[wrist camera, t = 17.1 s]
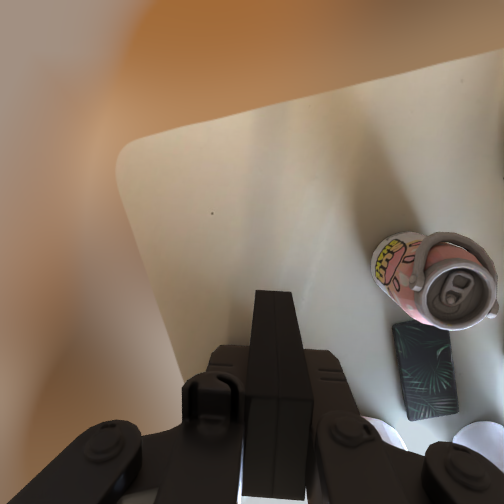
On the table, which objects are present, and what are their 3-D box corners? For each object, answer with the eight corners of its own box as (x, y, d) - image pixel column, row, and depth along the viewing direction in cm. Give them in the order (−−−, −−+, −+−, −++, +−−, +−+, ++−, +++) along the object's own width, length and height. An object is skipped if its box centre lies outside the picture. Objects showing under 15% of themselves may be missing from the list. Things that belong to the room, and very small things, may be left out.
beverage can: (388, 211, 38) (442, 225, 26) (451, 235, 38) (533, 259, 26) (356, 279, 40) (393, 320, 28) (417, 301, 40) (478, 351, 28)
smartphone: (409, 422, 43) (393, 326, 40) (406, 417, 44) (390, 323, 41) (460, 413, 42) (448, 315, 39) (456, 408, 43) (444, 312, 40)
